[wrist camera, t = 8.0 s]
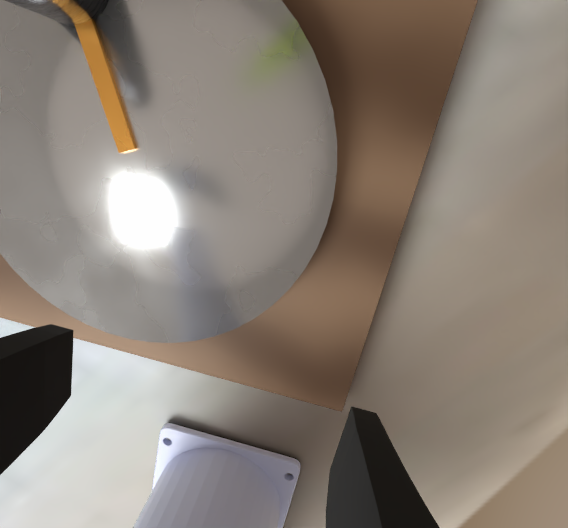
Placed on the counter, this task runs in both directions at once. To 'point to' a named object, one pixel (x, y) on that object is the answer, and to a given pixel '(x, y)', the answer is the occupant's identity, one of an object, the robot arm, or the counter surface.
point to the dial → (161, 160)
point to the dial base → (344, 211)
